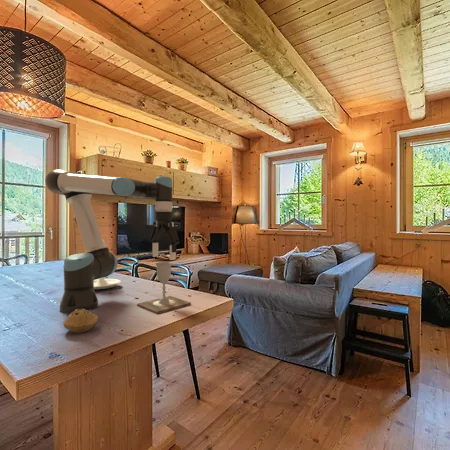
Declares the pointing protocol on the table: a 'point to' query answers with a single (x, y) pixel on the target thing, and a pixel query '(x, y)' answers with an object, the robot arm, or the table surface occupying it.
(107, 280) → the candlestick
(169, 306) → the board
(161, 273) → the chalice
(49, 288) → the table surface
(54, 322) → the table surface
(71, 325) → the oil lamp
